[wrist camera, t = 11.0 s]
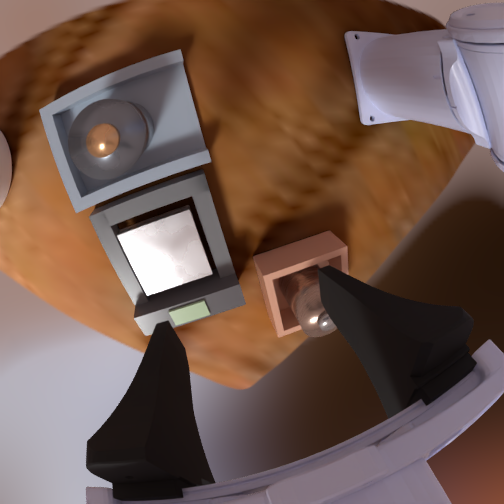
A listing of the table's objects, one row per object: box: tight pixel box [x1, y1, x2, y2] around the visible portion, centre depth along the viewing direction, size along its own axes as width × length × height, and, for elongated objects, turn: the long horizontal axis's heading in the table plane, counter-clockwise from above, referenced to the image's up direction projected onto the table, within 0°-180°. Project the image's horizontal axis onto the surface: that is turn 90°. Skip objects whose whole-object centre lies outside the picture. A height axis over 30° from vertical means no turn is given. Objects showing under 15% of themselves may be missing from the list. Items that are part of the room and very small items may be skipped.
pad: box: [117, 205, 213, 296], centre depth 19 cm, size 5×5×1 cm
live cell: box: [68, 99, 154, 180], centre depth 13 cm, size 4×4×6 cm
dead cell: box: [279, 264, 337, 337], centre depth 22 cm, size 4×4×6 cm
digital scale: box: [89, 169, 246, 336], centre depth 20 cm, size 10×8×3 cm
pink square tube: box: [253, 230, 348, 337], centre depth 24 cm, size 7×7×3 cm
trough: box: [40, 49, 211, 213], centre depth 15 cm, size 10×8×2 cm
